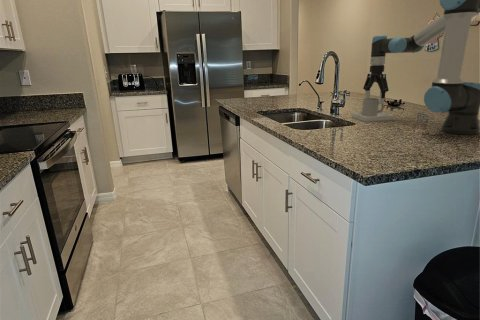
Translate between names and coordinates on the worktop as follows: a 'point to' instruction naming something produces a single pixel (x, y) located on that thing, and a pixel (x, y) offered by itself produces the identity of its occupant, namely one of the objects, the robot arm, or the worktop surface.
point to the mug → (371, 107)
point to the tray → (373, 117)
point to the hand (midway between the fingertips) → (374, 102)
